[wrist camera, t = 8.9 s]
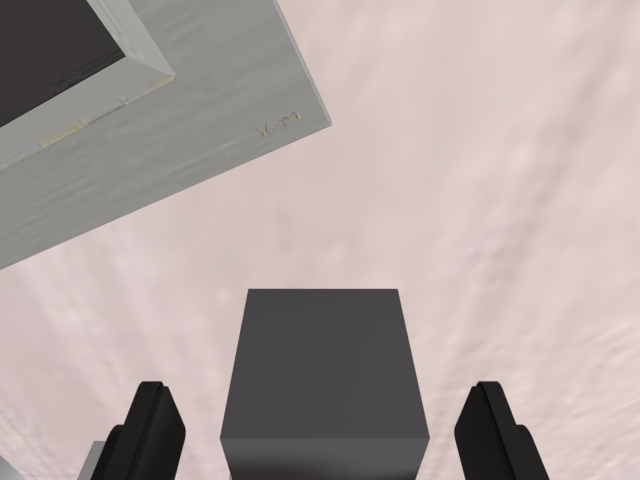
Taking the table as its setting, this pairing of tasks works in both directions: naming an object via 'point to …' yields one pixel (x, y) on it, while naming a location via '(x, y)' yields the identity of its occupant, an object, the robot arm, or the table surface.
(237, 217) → the table surface
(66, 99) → the electrical outlet
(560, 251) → the table surface
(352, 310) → the grey cube mallet
